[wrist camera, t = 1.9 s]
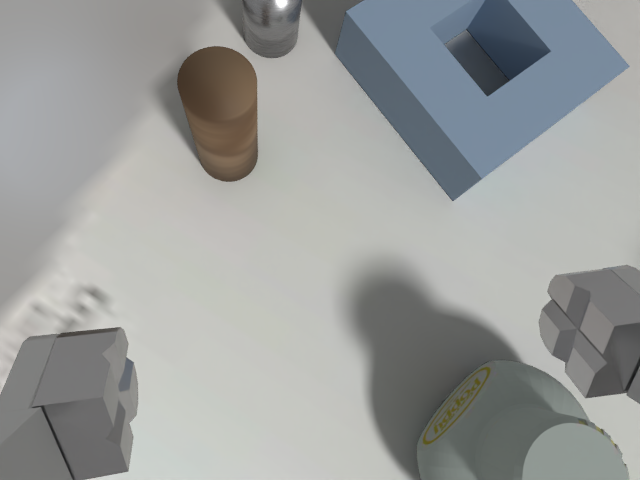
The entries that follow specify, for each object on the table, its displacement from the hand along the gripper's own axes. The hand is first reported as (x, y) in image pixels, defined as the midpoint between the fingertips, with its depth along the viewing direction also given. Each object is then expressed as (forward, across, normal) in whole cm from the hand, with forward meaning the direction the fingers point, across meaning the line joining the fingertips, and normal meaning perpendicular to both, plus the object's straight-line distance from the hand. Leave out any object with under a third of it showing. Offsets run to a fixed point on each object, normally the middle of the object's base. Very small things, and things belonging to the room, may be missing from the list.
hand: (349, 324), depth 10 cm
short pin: (+34, -2, +1) cm, 34 cm away
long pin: (+27, +2, +8) cm, 28 cm away
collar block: (+30, -16, +4) cm, 34 cm away
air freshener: (+12, -13, +23) cm, 29 cm away
